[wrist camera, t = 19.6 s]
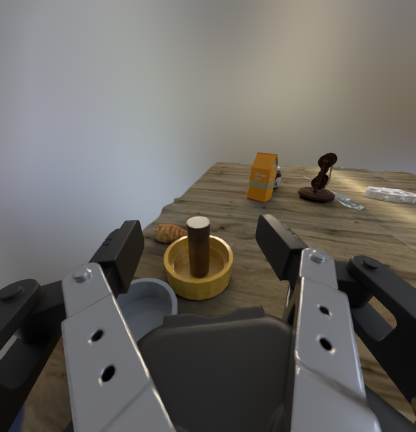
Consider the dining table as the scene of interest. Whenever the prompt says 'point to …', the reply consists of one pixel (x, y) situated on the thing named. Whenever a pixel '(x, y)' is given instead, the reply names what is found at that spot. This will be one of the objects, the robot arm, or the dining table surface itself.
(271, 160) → the orange juice
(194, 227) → the brown cylinder
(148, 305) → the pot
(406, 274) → the dining table surface
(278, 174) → the spread jar
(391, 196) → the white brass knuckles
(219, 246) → the bowl
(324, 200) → the brown wooden sculpture
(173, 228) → the pastry
